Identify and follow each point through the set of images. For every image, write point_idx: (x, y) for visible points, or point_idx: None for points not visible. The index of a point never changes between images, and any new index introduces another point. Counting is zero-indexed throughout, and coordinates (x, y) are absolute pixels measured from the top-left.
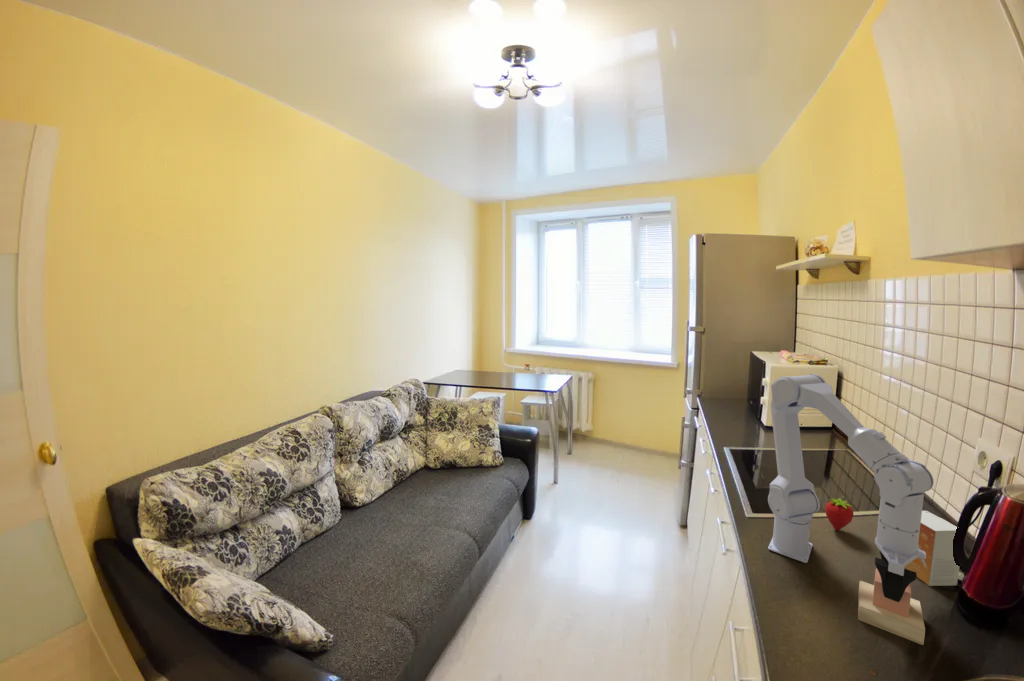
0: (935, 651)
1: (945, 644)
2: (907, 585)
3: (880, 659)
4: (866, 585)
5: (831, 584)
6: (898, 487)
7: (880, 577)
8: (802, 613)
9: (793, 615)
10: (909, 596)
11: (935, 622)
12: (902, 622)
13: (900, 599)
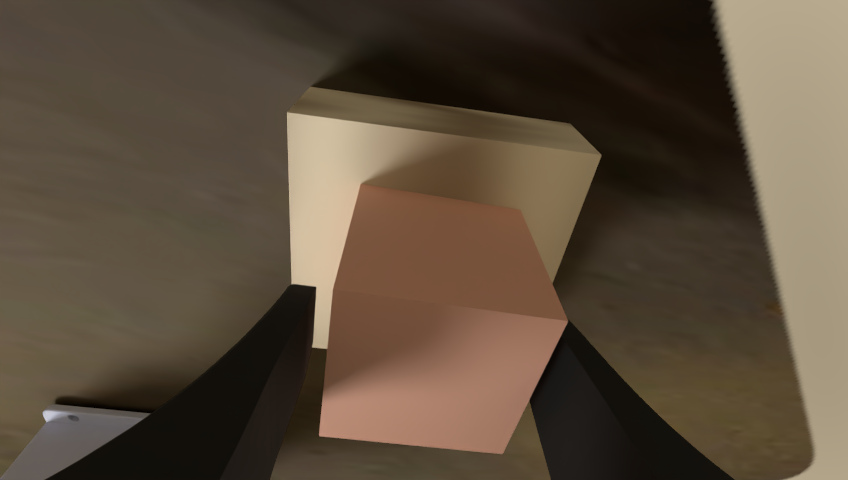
0: (594, 81)
1: (513, 13)
2: (715, 467)
3: (714, 283)
4: (320, 327)
5: (317, 364)
6: None
7: (439, 429)
8: None
9: None
10: (557, 306)
11: (323, 9)
12: (568, 238)
13: (580, 333)
